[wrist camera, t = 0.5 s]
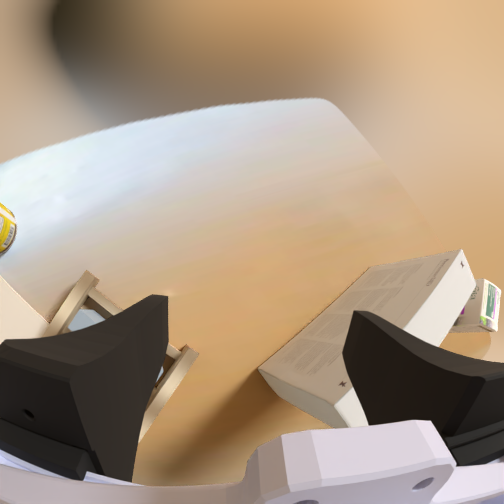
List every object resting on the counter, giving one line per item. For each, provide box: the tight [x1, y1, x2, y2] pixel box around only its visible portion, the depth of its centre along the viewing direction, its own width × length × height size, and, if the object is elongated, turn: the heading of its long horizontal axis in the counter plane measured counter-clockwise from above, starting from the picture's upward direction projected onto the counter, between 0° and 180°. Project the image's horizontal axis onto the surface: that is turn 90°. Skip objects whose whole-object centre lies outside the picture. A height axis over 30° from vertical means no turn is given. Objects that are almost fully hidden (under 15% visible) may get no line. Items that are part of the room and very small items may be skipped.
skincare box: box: [258, 249, 476, 429], centre depth 31 cm, size 21×6×16 cm, turn 127°
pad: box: [0, 276, 50, 344], centre depth 26 cm, size 9×9×1 cm
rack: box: [42, 270, 199, 443], centre depth 28 cm, size 16×14×3 cm
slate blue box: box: [68, 309, 163, 382], centre depth 28 cm, size 2×9×7 cm, turn 57°
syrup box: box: [448, 278, 501, 333], centre depth 37 cm, size 6×6×14 cm
